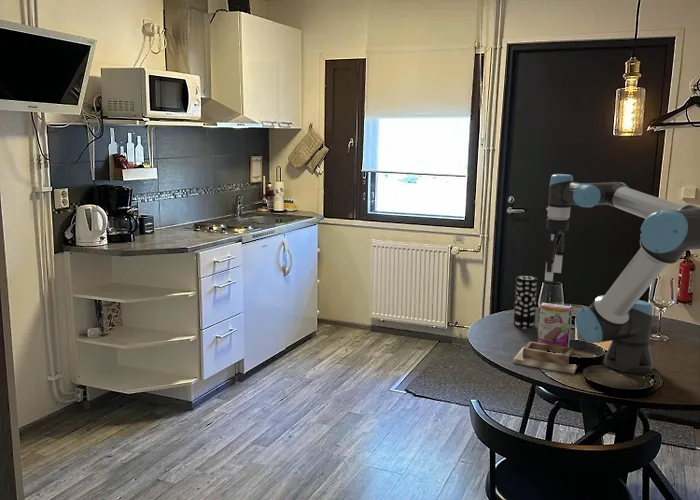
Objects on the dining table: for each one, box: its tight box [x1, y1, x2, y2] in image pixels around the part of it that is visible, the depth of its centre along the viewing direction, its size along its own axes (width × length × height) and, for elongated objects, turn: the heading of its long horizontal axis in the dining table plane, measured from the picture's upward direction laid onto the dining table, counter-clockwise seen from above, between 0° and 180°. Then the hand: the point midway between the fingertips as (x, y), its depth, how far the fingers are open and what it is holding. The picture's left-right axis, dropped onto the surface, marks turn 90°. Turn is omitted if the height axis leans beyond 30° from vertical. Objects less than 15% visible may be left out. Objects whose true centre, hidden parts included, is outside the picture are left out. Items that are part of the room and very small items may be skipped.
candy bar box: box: [536, 302, 574, 348], centre depth 234 cm, size 11×5×16 cm, turn 64°
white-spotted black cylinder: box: [513, 275, 538, 330], centre depth 261 cm, size 8×8×20 cm
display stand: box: [512, 340, 578, 375], centre depth 222 cm, size 20×14×5 cm
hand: (552, 276), depth 231 cm, fingers open, 13 cm apart
